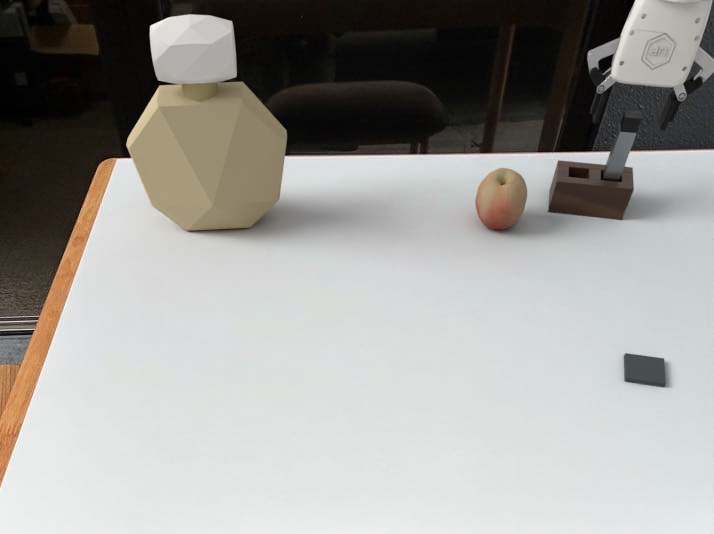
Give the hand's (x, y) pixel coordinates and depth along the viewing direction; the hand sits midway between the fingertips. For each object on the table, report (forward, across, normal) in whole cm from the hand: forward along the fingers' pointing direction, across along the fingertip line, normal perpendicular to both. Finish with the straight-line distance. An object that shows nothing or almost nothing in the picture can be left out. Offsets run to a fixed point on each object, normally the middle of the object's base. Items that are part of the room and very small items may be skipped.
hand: (628, 122), depth 98 cm
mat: (+13, +6, -40) cm, 42 cm away
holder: (+13, -2, 0) cm, 13 cm away
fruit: (+13, -16, -9) cm, 23 cm away
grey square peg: (+13, 0, 0) cm, 13 cm away
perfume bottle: (+14, -61, -17) cm, 65 cm away
